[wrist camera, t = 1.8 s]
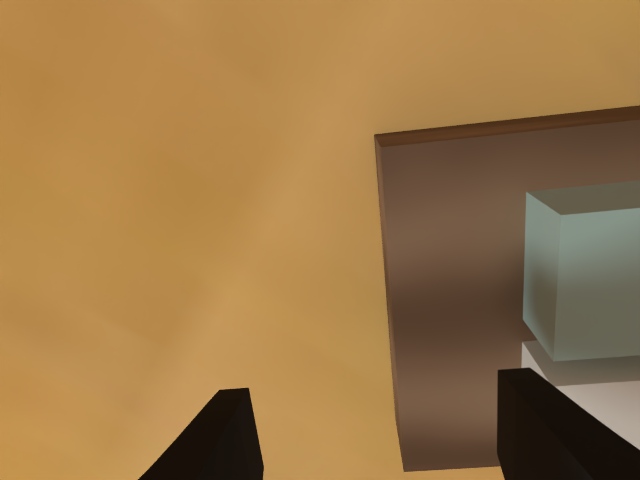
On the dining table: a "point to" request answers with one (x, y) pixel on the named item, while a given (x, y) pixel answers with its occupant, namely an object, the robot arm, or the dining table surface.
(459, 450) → the board
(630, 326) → the sage tile
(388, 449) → the dining table surface
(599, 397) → the beige block
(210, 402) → the robot arm
